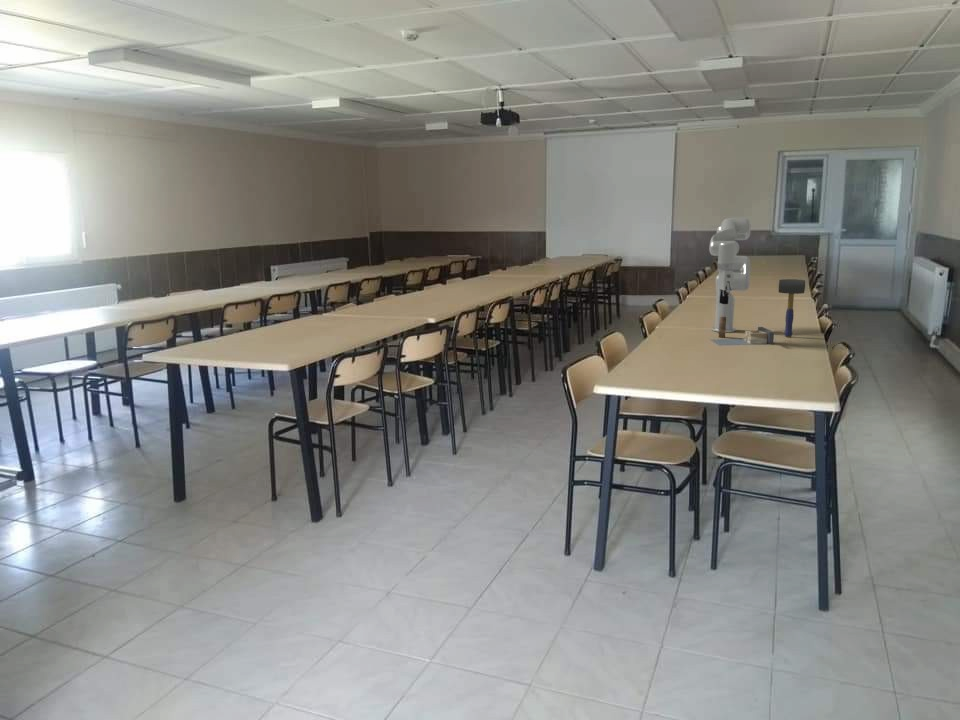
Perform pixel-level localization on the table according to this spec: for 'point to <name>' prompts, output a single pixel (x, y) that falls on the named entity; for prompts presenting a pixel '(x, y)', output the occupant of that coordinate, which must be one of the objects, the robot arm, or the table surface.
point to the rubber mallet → (790, 299)
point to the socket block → (756, 337)
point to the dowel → (722, 327)
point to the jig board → (741, 341)
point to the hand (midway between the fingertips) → (723, 303)
